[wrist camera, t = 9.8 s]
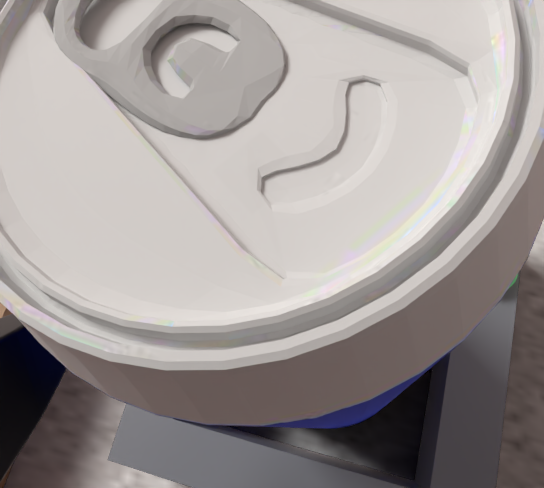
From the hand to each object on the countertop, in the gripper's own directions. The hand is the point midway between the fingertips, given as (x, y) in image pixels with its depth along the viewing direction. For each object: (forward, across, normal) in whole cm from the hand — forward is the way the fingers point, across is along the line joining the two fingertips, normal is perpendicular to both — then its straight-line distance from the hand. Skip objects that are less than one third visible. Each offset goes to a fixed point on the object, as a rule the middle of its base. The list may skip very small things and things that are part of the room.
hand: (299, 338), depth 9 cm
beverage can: (+7, 0, +6) cm, 9 cm away
